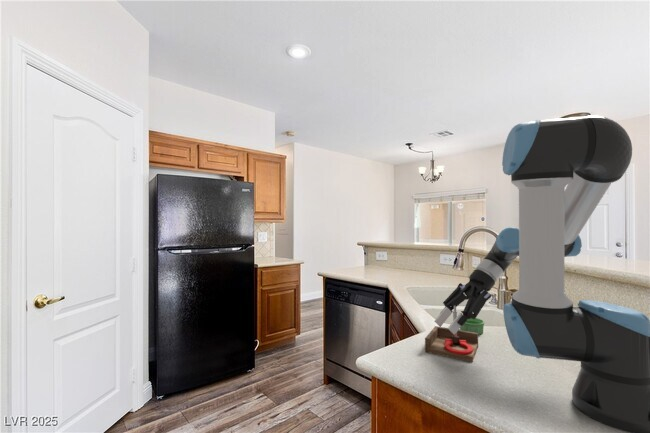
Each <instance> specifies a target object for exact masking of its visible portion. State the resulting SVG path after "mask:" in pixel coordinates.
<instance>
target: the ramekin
mask: <svg viewBox="0 0 650 433" xmlns="http://www.w3.org/2000/svg"><path fill="white" fill-rule="evenodd" d="M484 325H485V321H484V320H483V319H482V318H479V317H478V318H477V317H476V318H475V319H472V318H470V319H468V320H467V321H466V322H465V323H464V325H463V326H461V327H460V328H459V330H462V331H468V332H475V333H478V336H480V335H482V334H483V333H484Z"/></svg>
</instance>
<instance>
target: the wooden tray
mask: <svg viewBox="0 0 650 433" xmlns="http://www.w3.org/2000/svg"><path fill="white" fill-rule="evenodd" d="M452 335H453V333H452V332H451V331H450V330H449V329H448V327H443V326H441V327H440V326H435V325H434V327H433V328H432V329H431V330H430V332H429V333H428V334H427V335H426V337H424V349H425V350H424V351H425V353H427V354H432V355H437V356H442V357H447V358H452V359H455V360H461V361H466V362H471V363H473V362H474V360H475V356H476V354H477V351H478V348H479V335H478V333H475V332H468V331H462V330H460V329H459V330H458V336H459V340H466V342H467V344H469V345H471V346H472V347H473V352H472V353H470V354H465V355H461V354H455V353H452V352H449V351H447V350H446V349H445V347H444V344H445V339H452ZM450 347H451V348H453V349H456V350H466V349H467V348H466V347H464V346H461V345H460V344H459V345H457V344H453V345H451V346H450Z"/></svg>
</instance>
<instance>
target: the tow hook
mask: <svg viewBox="0 0 650 433" xmlns="http://www.w3.org/2000/svg"><path fill="white" fill-rule="evenodd" d="M452 314H453V315H452V319H453V321H454V320H455V318H456V317H457V316H458V312H457V307H456V306H455V305H454V309H453V312H452ZM453 321H452V322H453ZM453 344H457V345H459V344H460V345H461V346H464V347H466V348H467V349H466V350H456V349H453V348H451V347H450V346H451V345H453ZM444 347H445V349H446V350H447V351H449V352H452V353H455V354H461V355H465V354H470V353H472V352H473V347H472V346H471V345H469V344H467V342H466V340H459V336H458V331H457V332H456V334H455V335H454V334H453V335H452V339H445V344H444Z"/></svg>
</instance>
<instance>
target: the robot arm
mask: <svg viewBox="0 0 650 433" xmlns="http://www.w3.org/2000/svg"><path fill="white" fill-rule="evenodd" d="M502 152H503V153H502V159H501V160H502V163H501V164H502V172H503V174H504V175H506V176H510V178H511V184H513V186H515V187H516V188H517V189H518V228H517V227H514V226H509V227H506V228H504V229H502V230H501V231H500V232H499V234H498V235H497V237H496V238H495V241H494V243H493V244H492V247H491V248H490V250H489V252H487V254H486V256H485V257H484V258H483V259H482V260H480V262H479V264H478V265H477V266H476V267H475V268H476V269H474V270H473V271H472V272H471V273H470V275H469V276H468V279H469V281H468V282H467V283H465V284H462V282H460V283H459V284H457V286H456V288H455V289H454V290H453V291H452V292H451V293H450V294H449V295H448V297H447V298H446V299H445V300H444V301H442V304H443V305H444V307H443V309H442V310H441V311H440V313H439V315H438V316H437V317H436V318H435V319H434V323H435V324H436V325H438V326H437V327H443V325H444V323H445V322H446V321H447V320H448V318H450V316H451V314H453V312H454V305H455V306H456V308H457V307H458V306H459V305H461V304H462V303H463V302H464V301H467V302H466V304H465V307H464V309H463V310H461V311H460V312H459V314H457V317H456V318H455V320H454V321H451V324H450V325H449V326H448V327H447V328H448V329H449V330H450V331H451V332H452V333H453V334H454V335H455V334H456V332H457V331H458V330H460V327H461V326H463V325H464V323H465V322H466V321H467V320H468V319H470V318H472V319H475V318H477V317H478V315H479V314H480V312H481V311H482V309H483V308H484V307H485V304H486V303H487V301H488V300H490V299H491V297H492V295H491V294H490V293H489V292H490V291H491V290H492V289H493V287H494V286H495V285H496V283H497V282H498V280H499V279H500V278H501V277H502V276H503V274H504V273H505V272H506V270H507V269H508V268H509V267H510V265H511V264H512V263H513V262H514V261H515V259H517V257H518V260H519V261H518V262H519V263H518V266H519V268H518V270H519V271H518V274H519V275H518V276H519V278H518V279H519V280H518V284H519V285H518V287H519V288H518V289H517V290H516V291H515V292H513V293H512V294H511V302H507V303H504V305H503V312H502V313H503V319H504V320H503V321H504V326H505V329H506V333H507V336H508V339H509V342H510V344H511V346H512V348H513V350H514V351H515V352H516V353H517V354H519V355H521V356H526V357H531V358H536V359H549V360H551V359H552V360H561V361H569V362H570V361H572V362H580V368H579V369H580V370H579V372H578V375H577V377H576V379H575V383H574V385H573V387H572V391H571V397H572V398H571V399H572V403H573V404H574V406H575V407H576V408H577V409H578V410H579V411H580V412H582V413H583V414H584V415H586V416H588V417H590V418H592V419H593V420H595V421H597V422H600V423H602V424H605V425H607V426H609V427H613V428H615V429H619V430H622V431H626V432H630V433H650V319H649V317H648V316H647V315H646V314H645V313H642V312H641V311H639V310H636V309H633V308H630V307H626V306H621V305H618V304H614V303H609V302H605V301H604V302H603V301H598V300H593V299H592V300H591V299H581V300H579V301H578V303H577V307H576V306H574V302H573V301H572V300H571V298H569V297H568V296H567V295H566V294H565V258H566V257H577V256H578V255H579V254H580V253H581V252H582V251H581V250H582V249H581V248H582V246H583V243H582V239H581V237H580V233H581V231H582V230H583V229H584V227H585V226H586V224H587V222H588V220H589V219H590V218H591V216H592V215H593V213H594V211H595V210H596V208H597V206H598V205H599V203H600V202H601V200H602V199H603V197H604V195H605V194H606V192H607V190H608V189H609V188H610V186H611V184H613V183H615V182H617V181H620V179H622V177H623V176H624V175H625V173H626V172H627V170H628V168H629V166H630V164H631V162H632V157H633V145H632V140H631V137H630V136H629V134H628V132H627V131H626V129H625V128H624V127H623V125H621V124H619V123H618V122H617V121H615V120H613V119H611V118H608V117H606V116H600V115H586V116H578V117H565V118H563V117H562V118H552V119H536V120H534V121H528V122H521V123H517V124H516V125H514V126H513V127H511V129H510V131H509V133H508V134H507V137H506V140H505V143H504V148H503V151H502Z"/></svg>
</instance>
